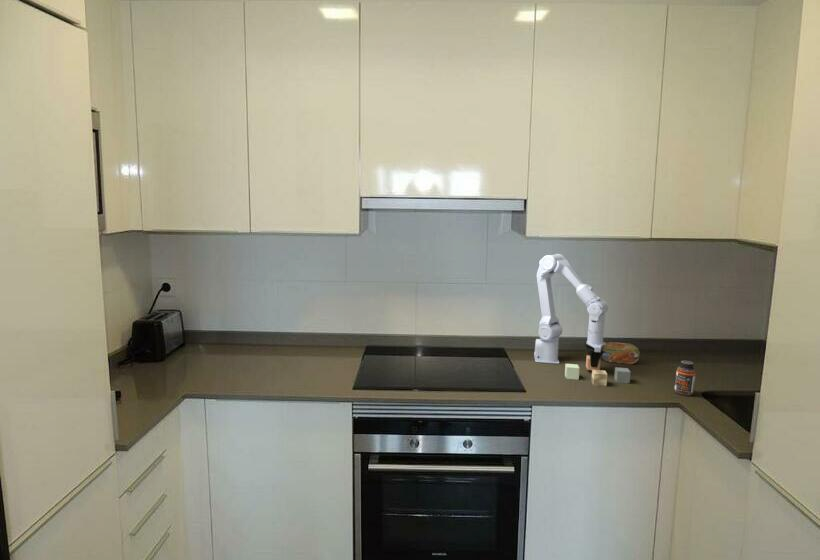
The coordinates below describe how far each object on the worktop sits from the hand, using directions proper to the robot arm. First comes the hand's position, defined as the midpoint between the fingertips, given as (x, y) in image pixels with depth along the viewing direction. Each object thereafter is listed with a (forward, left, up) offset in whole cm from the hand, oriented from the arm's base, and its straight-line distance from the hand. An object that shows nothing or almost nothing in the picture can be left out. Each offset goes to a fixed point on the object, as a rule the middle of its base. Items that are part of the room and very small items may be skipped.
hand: (592, 364), depth 207 cm
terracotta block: (0, 0, -1) cm, 1 cm away
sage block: (-9, -9, -3) cm, 13 cm away
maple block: (0, -14, -3) cm, 14 cm away
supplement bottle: (+28, -17, -3) cm, 33 cm away
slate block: (+9, -9, -3) cm, 13 cm away
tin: (+13, +15, -3) cm, 20 cm away
